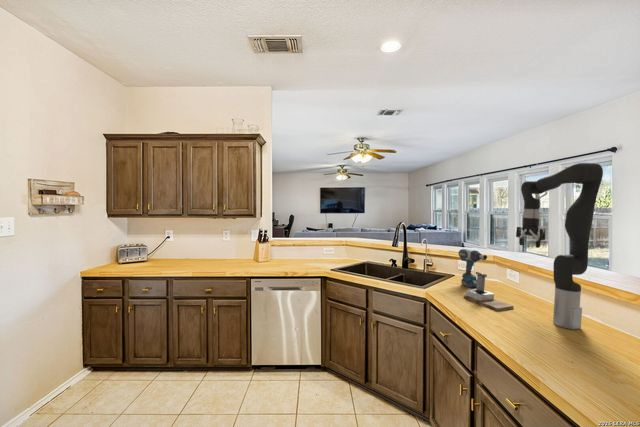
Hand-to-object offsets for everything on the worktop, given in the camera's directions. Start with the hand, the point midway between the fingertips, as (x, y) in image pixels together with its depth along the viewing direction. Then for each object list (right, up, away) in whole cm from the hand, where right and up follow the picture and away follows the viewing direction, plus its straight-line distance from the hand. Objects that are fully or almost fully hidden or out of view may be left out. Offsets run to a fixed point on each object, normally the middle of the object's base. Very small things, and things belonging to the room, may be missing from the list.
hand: (529, 246), depth 163 cm
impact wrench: (-14, -32, +36) cm, 50 cm away
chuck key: (-23, -31, +8) cm, 39 cm away
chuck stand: (-22, -33, +3) cm, 39 cm away
